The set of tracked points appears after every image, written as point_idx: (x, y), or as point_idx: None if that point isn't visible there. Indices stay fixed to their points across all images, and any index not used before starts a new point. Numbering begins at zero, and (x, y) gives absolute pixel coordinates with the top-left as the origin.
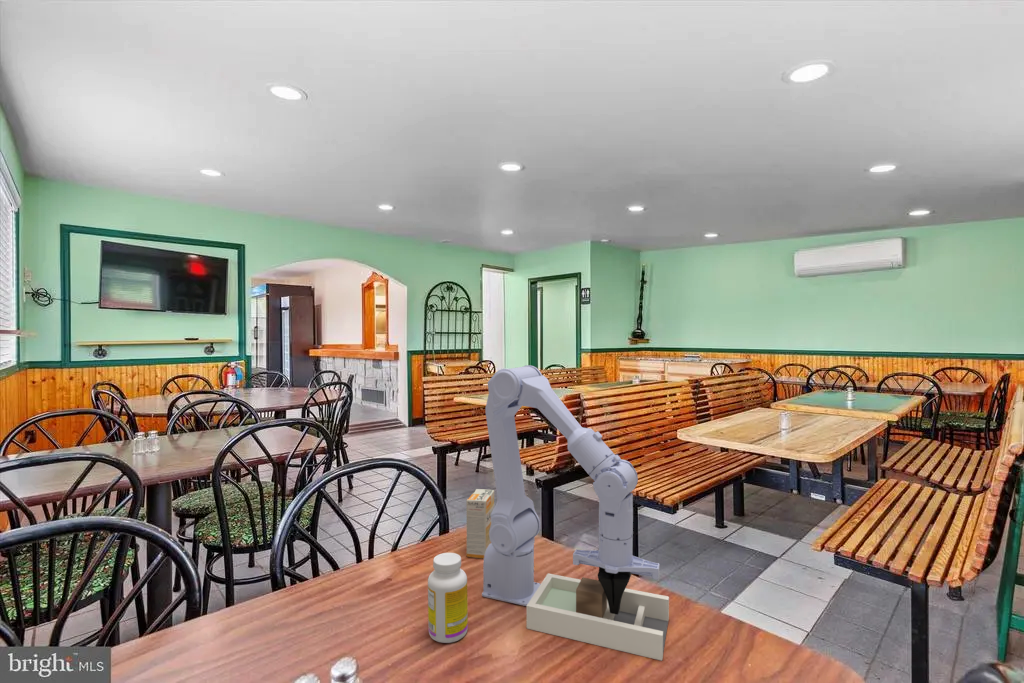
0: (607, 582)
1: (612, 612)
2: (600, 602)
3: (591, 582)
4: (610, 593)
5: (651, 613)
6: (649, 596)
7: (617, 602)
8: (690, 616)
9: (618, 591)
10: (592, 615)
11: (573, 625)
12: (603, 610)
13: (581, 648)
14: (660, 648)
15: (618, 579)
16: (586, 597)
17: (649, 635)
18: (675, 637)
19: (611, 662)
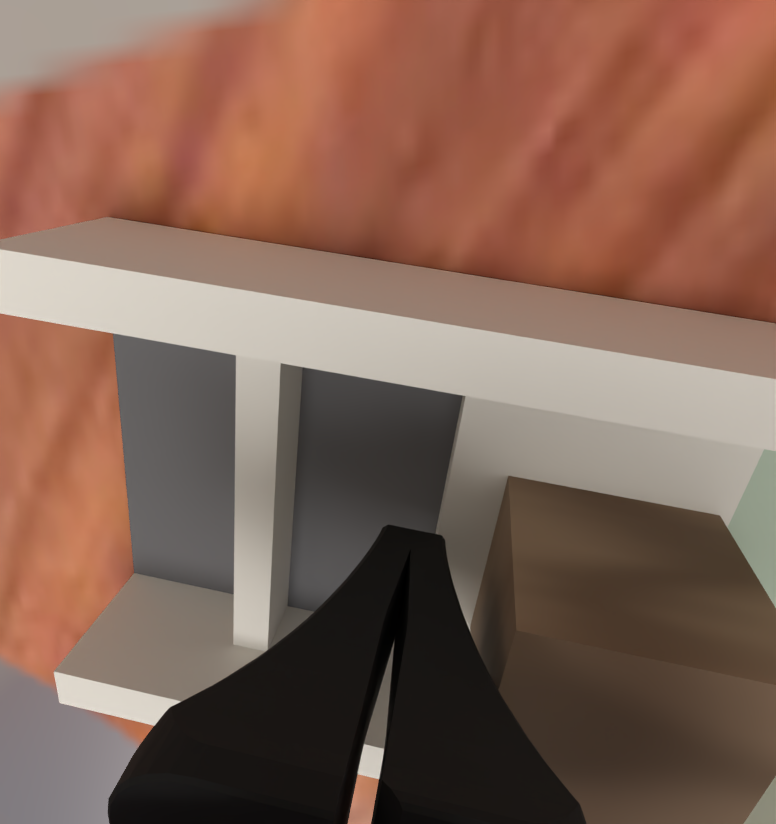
0: (443, 758)
1: (423, 534)
2: (527, 571)
3: (622, 801)
4: (421, 646)
5: (210, 609)
6: (173, 698)
7: (365, 580)
8: (48, 622)
9: (323, 656)
10: (586, 502)
11: (774, 351)
12: (496, 554)
13: (666, 222)
14: (67, 231)
15: (253, 794)
16: (677, 617)
17: (92, 257)
18: (81, 454)
19: (432, 103)
